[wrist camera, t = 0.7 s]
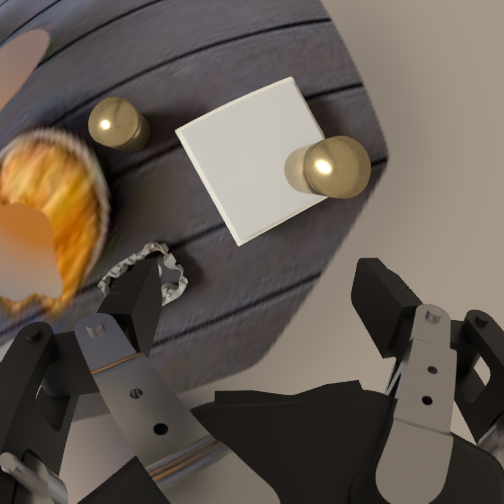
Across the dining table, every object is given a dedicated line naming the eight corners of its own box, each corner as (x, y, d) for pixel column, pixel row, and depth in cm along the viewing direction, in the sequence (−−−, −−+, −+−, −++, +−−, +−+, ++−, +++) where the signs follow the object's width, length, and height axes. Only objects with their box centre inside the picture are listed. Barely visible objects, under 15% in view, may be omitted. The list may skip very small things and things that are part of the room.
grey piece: (162, 233, 37) (157, 238, 33) (193, 280, 39) (192, 291, 35) (100, 274, 37) (90, 283, 33) (131, 318, 39) (124, 331, 35)
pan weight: (275, 159, 30) (302, 150, 21) (316, 139, 30) (355, 126, 21) (297, 202, 31) (331, 210, 23) (336, 181, 31) (380, 182, 23)
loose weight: (107, 128, 33) (81, 114, 24) (140, 107, 33) (122, 87, 24) (123, 160, 34) (99, 154, 25) (157, 139, 34) (143, 127, 26)
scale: (180, 139, 35) (174, 129, 28) (281, 91, 35) (297, 73, 28) (232, 235, 38) (239, 247, 31) (328, 183, 39) (353, 184, 32)
